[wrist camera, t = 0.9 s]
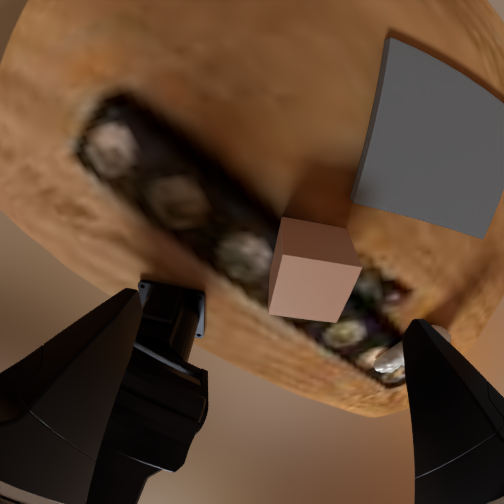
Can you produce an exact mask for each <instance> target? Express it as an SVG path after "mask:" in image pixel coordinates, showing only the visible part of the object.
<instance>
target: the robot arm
mask: <svg viewBox="0 0 504 504" xmlns="http://www.w3.org/2000/svg"><path fill="white" fill-rule="evenodd" d="M142 284H143V285H142ZM138 288H139V292H138V291H137V290H135V289H130V288H125V289H123V290H122V291H120V292H119V293H117V294H116V295H114V296H113V297H111V298H110V299H108V300H107V301H105V302H104V303H102V304H101V305H99V306H98V307H96V308H95V309H93V310H92V311H90V312H89V313H87V314H86V315H84V316H83V317H81V318H80V319H79V320H77V321H76V322H74V323H73V324H71V325H70V326H68V327H67V328H66V329H64V330H63V331H61V332H60V333H59V334H57V335H56V336H54V337H53V338H52V339H50V340H49V341H47V342H46V343H45V344H44V346H43V345H42V346H40V347H39V348H38V349H36V350H35V351H33V352H32V353H30V354H29V355H28V356H26V357H25V358H23V359H22V360H20V361H19V362H17V363H16V364H14V365H12V366H11V367H10V368H8V369H6V370H4V371H3V372H1V373H0V504H59V503H63V504H137V503H138V501H139V498H140V496H141V493H142V491H143V488H144V485H145V483H146V481H147V479H148V478H149V477H151V476H152V475H154V474H156V473H158V472H160V471H161V470H166V471H169V472H176V471H177V470H178V469H179V468H180V467H181V466H183V464H184V462H185V459H186V456H187V453H188V450H189V447H190V445H191V442H192V440H193V438H194V436H195V434H197V433H198V432H199V430H200V429H201V427H202V426H203V424H204V422H205V419H206V416H207V412H208V371H206V370H204V369H200V368H198V367H196V366H194V365H191V364H190V363H188V359H189V355H190V352H191V348H192V345H193V341H194V338H195V337H196V338H203V336H204V319H205V294H204V292H202V291H199V290H194V289H188V288H183V287H178V286H173V285H167V284H162V283H157V282H152V281H148V280H140V282H139V283H138ZM139 294H140V295H139ZM199 296H201V297H199ZM402 346H403V356H404V367H405V378H406V386H407V392H408V399H409V406H410V413H411V423H412V433H413V445H414V463H415V503H414V504H504V397H503V396H502V395H501V394H500V393H498V391H497V390H496V389H495V388H494V387H493V386H492V385H491V384H490V383H489V382H488V381H487V380H486V379H485V378H484V377H483V376H482V375H481V374H480V372H478V371H477V369H475V368H474V366H473V365H472V364H470V362H469V361H467V359H465V357H464V356H463V355H462V354H461V353H460V352H459V351H457V350H456V349H455V348H454V347H453V346H452V345H451V344H450V343H449V342H448V341H447V340H446V339H445V338H444V337H443V336H442V335H441V334H440V333H439V332H438V331H436V330H435V329H434V328H433V327H432V326H431V325H430V324H429V323H428V322H427V321H426V320H424V319H414V320H412V322H411V323H410V325H409V326H408V328H407V329H406V331H405V333H404V334H403V337H402Z"/></svg>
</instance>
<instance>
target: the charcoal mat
mask: <svg viewBox="0 0 504 504" xmlns="http://www.w3.org/2000/svg"><path fill="white" fill-rule="evenodd" d="M503 190H504V103H502V102H501V101H500V100H499V99H497V98H496V97H495V96H493V95H492V94H491V93H489V92H488V91H487V90H485V89H484V88H482V87H481V86H480V85H478V84H477V83H475V82H474V81H472V80H471V79H469V78H468V77H466V76H465V75H463V74H462V73H460V72H458V71H457V70H455V69H453V68H452V67H450V66H448V65H447V64H445V63H443V62H441V61H440V60H438V59H436V58H434V57H432V56H430V55H428V54H426V53H424V52H422V51H420V50H418V49H416V48H414V47H412V46H410V45H408V44H405V43H403V42H401V41H398V40H396V39H394V38H391V37H390V38H387V39H385V43H384V50H383V56H382V62H381V68H380V74H379V79H378V85H377V90H376V95H375V100H374V105H373V109H372V114H371V118H370V123H369V127H368V131H367V136H366V140H365V144H364V148H363V152H362V155H361V159H360V163H359V167H358V170H357V174H356V178H355V181H354V185H353V188H352V192H351V195H350V199H351V200H352V202H353V203H355V204H359V205H364V206H368V207H372V208H376V209H380V210H384V211H388V212H392V213H396V214H400V215H404V216H407V217H411V218H415V219H418V220H422V221H425V222H429V223H432V224H436V225H439V226H442V227H446V228H449V229H452V230H455V231H458V232H462V233H465V234H468V235H471V236H474V237H477V238H480V239H482V240H483V238H484V236H485V234H486V232H487V229H488V227H489V225H490V223H491V220H492V218H493V216H494V213H495V211H496V208H497V206H498V203H499V201H500V198H501V195H502V192H503Z"/></svg>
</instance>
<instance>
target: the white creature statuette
mask: <svg viewBox="0 0 504 504" xmlns="http://www.w3.org/2000/svg"><path fill="white" fill-rule="evenodd" d="M431 326H432V327H433V328H434V329H435V330H436V331H438V332H439V333H440V334H441V335H442V336H443V337H444V338H445V339H446V340H447V341H448V342H449V343H450V344H451V335H450V334H449V333H448V332H447V330H446V329H444V328H443V327H442V326H438V325H431ZM401 365H403V366H404V356H403V346H402V341H400V342H399V343H398V344H396V345H395V346H393V347H392V348H390V349H389V350H387V351H386V352H384V353H382V354H381V355H380V356H378V357H377V359H376V360H375V361H374V368H375V370H376V371H380V372H381V373H383V372H390V373H392V372H393V371H394V370H395V369H398V367H400V366H401Z"/></svg>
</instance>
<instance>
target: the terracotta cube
mask: <svg viewBox="0 0 504 504" xmlns="http://www.w3.org/2000/svg"><path fill="white" fill-rule="evenodd" d="M361 269H362V266H361V263H360V260H359V258H358V255H357V253H356V250H355V248H354V246H353V243H352V241H351V238H350V236H349V234H348V231H347V229H346V228H341V227H336V226H331V225H325V224H320V223H315V222H309V221H304V220H298V219H292V218H287V217H282V219H281V224H280V228H279V233H278V238H277V242H276V247H275V251H274V256H273V260H272V265H271V269H270V284H269V303H268V314H271V315H278V316H285V317H293V318H301V319H309V320H317V321H326V322H337V320H338V318H339V316H340V314H341V312H342V310H343V308H344V306H345V304H346V302H347V300H348V298H349V296H350V294H351V291H352V289H353V287H354V285H355V283H356V280H357V278H358V276H359V274H360V271H361Z"/></svg>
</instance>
